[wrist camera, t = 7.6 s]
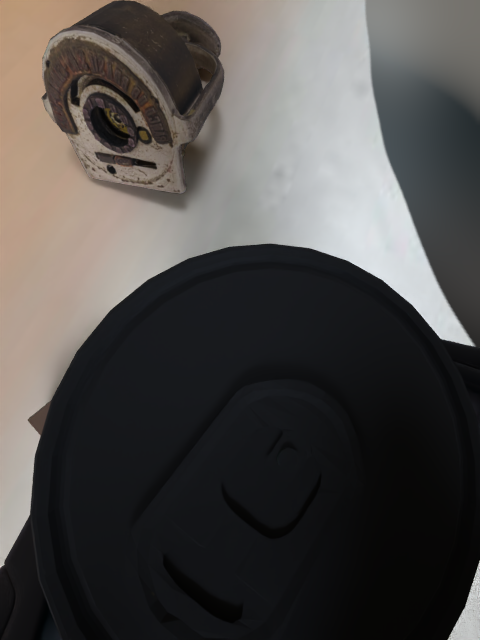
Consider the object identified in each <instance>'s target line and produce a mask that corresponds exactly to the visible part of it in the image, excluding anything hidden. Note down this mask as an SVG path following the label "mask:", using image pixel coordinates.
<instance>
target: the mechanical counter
mask: <svg viewBox="0 0 480 640" xmlns="http://www.w3.org/2000/svg"><path fill="white" fill-rule="evenodd" d="M220 52H221V43H220V39H219V37H218V35H217V34H216V32H215V31H214V30H213V29H212V27H211V26H209V25H208V24H207V23H206V22H205V21H204V20H202V19H201V18H199V17H197V16H195V15H193V14H190V13H188V12H186V11H172V12H169V13H166V14H163V15H159V14H158V13H156V12H155V11H153V10H152V9H151V8H149V7H147V6H145V5H142V4H140V3H138V2H135V1H125V0H120V1H113V2H111V3H109V4H107V5H105V6H104V7H102V8H100V9H99V10H97V11H95V12H94V13H92V14H91V15H89V16H87V17H86V18H84V19H82V20H81V21H79V22H78V23H76V24H74V25H73V26H71V27H70V28H66V29H63V30H62V31H60V32H59V33H58V34H56V35H55V36H54V37H52V38H51V39H50V41H49V44H48V46H47V49H46V51H45V53H44V56H43V76H42V77H43V81H44V85H45V89H46V93H45V94H44V95H43V97H42V100H43V103H44V106H45V109H46V111H47V112H48V114H49V115H50V117H51V118H52V120H53V121H54V122H55V123H57V125H58V126H59V127H60V129H61V130H62V131H63V132H65V133H66V134H67V136H68V138H69V140H70V142H71V144H72V146H73V148H74V150H75V152H76V154H77V155H78V157H79V159H80V161H81V163H82V165H83V167H84V169H85V171H86V173H87V174H88V176H89V177H91V178H94V179H99V180H105V181H110V182H116V183H122V184H127V185H133V186H139V187H144V188H149V189H154V190H160V191H166V192H173V193H180V194H182V193H183V192H185V191H186V187H187V185H186V181H185V175H184V167H183V156H184V154H185V151H184V149H185V147H186V146H187V144H188V142H191V141H194V140H195V138H196V137H197V135H198V134H199V132H200V130H201V128H202V126H203V124H204V122H205V121H206V119H207V117H208V115H209V113H210V112H211V110H212V109H213V107H214V106H215V104H216V102H217V100H218V99H219V97H220V94H221V91H222V87H223V82H224V69H223V67H222V64H221V62H220V60H219V59H218V57H219V55H220ZM201 68H204V69H206V70H208V71H209V72H211V74H212V75H213V76H212V78H211V80H210V82H209V83H208V84H207V85H206V86H205V88H204V89H203V88H202V84H201V79H200V75H199V72H198V70H197V69H201Z"/></svg>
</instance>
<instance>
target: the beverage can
mask: <svg viewBox="0 0 480 640" xmlns="http://www.w3.org/2000/svg"><path fill="white" fill-rule="evenodd" d="M30 521H31V529H32V536H33V544H34V551H35V558H36V566H37V573H38V580H39V583H40V585H41V588H42V590H43V593H44V596H45V598H46V601H47V604H48V606H49V609H50V611H51V614H52V617H53V619H54V622H55V625H56V627H57V630H58V632H59V635H60V638H61V640H447V639H448V637H449V636H450V634H451V632H452V630H453V628H454V626H455V624H456V623H457V621H458V619H459V617H460V615H461V613H462V611H463V609H464V608H465V605H466V602H467V599H468V596H469V592H470V589H471V586H472V583H473V580H474V577H475V573H476V570H477V567H478V564H479V561H480V431H479V426H478V421H477V416H476V413H475V410H474V408H473V405H472V403H471V400H470V397H469V395H468V392H467V389H466V387H465V384H464V381H463V379H462V376H461V374H460V372H459V370H458V369H457V367H456V365H455V364H454V362H453V360H452V358H451V357H450V355H449V353H448V352H447V350H446V348H445V346H444V345H443V343H442V341H441V340H440V338H439V336H438V335H437V334H436V333H435V332H434V331H433V329H432V328H431V327H430V326H429V325H428V323H427V322H426V321H425V320H424V319H423V317H422V316H421V315H420V314H419V313H418V311H417V310H416V309H415V308H414V307H413V306H412V305H411V304H410V303H409V302H408V301H406V300H405V299H404V298H403V297H402V296H400V295H399V294H398V293H397V292H396V291H394V290H393V289H392V288H391V287H390V286H388V285H387V284H386V283H385V282H384V281H382V280H381V279H379V278H377V277H375V276H374V275H372V274H370V273H368V272H367V271H365V270H363V269H361V268H359V267H358V266H356V265H354V264H352V263H350V262H349V261H346V260H343V259H340V258H337V257H334V256H331V255H328V254H325V253H322V252H319V251H316V250H313V249H310V248H302V247H294V246H286V245H278V244H259V245H246V246H233V247H227V248H224V249H220V250H217V251H213V252H210V253H206V254H203V255H199V256H196V257H192V258H189V259H187V260H185V261H183V262H181V263H179V264H177V265H175V266H173V267H171V268H170V269H168V270H166V271H164V272H162V273H160V274H158V275H156V276H154V277H152V278H151V279H149V280H147V281H146V282H145V283H143V284H142V285H141V286H140V287H139V288H137V289H136V290H135V291H134V292H132V293H131V294H130V295H129V296H128V297H126V298H125V299H124V300H123V301H121V302H120V303H119V304H118V305H117V306H115V307H114V308H113V309H112V310H110V312H109V313H108V314H107V315H106V316H105V318H104V319H103V320H102V321H101V323H100V324H99V325H98V326H97V327H96V329H95V330H94V331H93V332H92V334H91V335H90V336H89V337H88V338H87V340H86V341H85V342H84V343H83V345H82V346H81V347H80V348H79V349H78V351H77V352H76V354H75V356H74V358H73V360H72V362H71V364H70V366H69V368H68V369H67V371H66V373H65V375H64V377H63V379H62V381H61V383H60V385H59V386H58V388H57V390H56V392H55V394H54V396H53V398H52V400H51V403H50V406H49V410H48V413H47V417H46V420H45V423H44V427H43V430H42V434H41V437H40V440H39V444H38V447H37V451H36V454H35V460H34V473H33V485H32V498H31V511H30Z"/></svg>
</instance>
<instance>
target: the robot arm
mask: <svg viewBox="0 0 480 640" xmlns="http://www.w3.org/2000/svg"><path fill="white" fill-rule="evenodd" d="M440 340H441V341H442V343H443V345H444V346H445V348H446V350H447V352H448V353H449V355H450V357H451V358H452V360H453V362H454V364H455V365H456V367H457V369H458V370H459V372H460V374H461V376H462V379H463V381H464V384H465V387H466V389H467V392H468V395H469V397H470V400H471V403H472V405H473V408H474V410H475V413H476V416H477V421H478V426H479V431H480V348H478V347H474V346H469V345H464V344H459V343H455V342H451V341H447V340H442V339H440ZM4 564H5V565H3V566H2V567H1V568H0V640H61V638H60V635H59V632H58V630H57V627H56V625H55V622H54V619H53V617H52V614H51V611H50V609H49V606H48V604H47V601H46V598H45V596H44V593H43V590H42V588H41V585H40V583H39V580H38V573H37V566H36V558H35V551H34V544H33V536H32V529H31V521H30V516H29V518H28V519H27V521H26V523H25V525H24V527H23V529H22V530H21V532H20V534H19V536H18V538H17V540H16V541H15V543H14V545H13V547H12V549H11V550H10V552H9V554H8V556H7V558H6V560H5V562H4Z"/></svg>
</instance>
